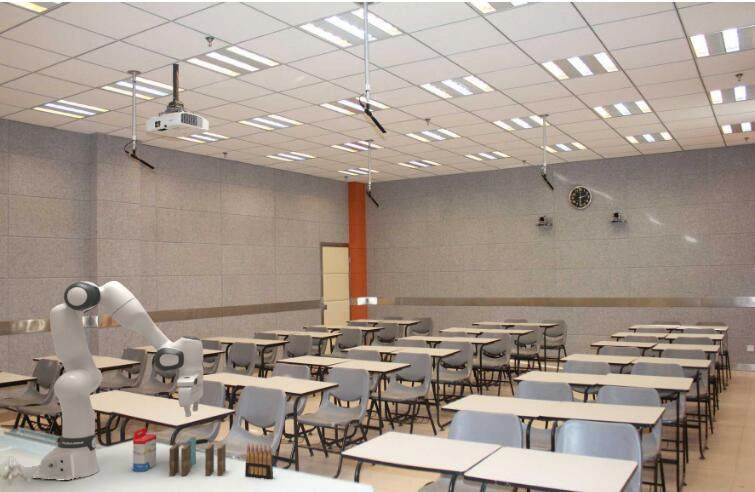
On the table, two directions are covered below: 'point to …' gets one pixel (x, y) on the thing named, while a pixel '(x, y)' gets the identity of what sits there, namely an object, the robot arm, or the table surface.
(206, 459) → the domino
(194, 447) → the domino
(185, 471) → the domino
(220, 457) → the domino
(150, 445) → the ink box
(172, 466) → the domino
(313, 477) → the table surface
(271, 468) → the pencil set
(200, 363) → the robot arm
